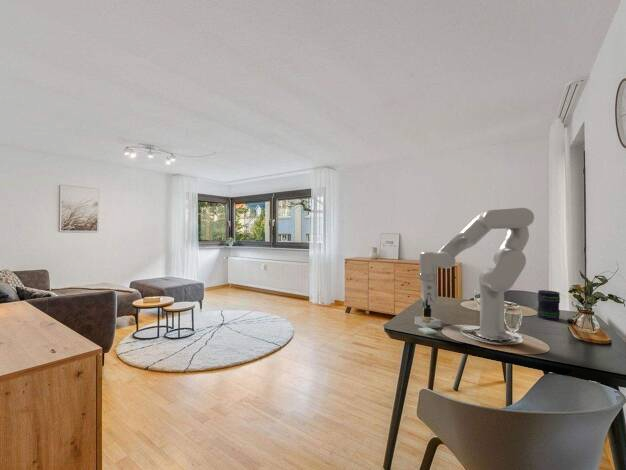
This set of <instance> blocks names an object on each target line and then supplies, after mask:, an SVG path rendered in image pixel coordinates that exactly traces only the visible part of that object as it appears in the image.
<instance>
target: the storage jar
mask: <svg viewBox="0 0 626 470" xmlns="http://www.w3.org/2000/svg"><path fill="white" fill-rule="evenodd" d="M560 295H561V293H560V292H558V291H553V290H542V289H541V290H538V291H537V302H538V304H537V305H538V307H537V318H538V319H541V320H545V321H552V322H559V321H560V312H561V311H560V303H561V302H560V301H561V298H560Z"/></svg>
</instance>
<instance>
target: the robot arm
mask: <svg viewBox="0 0 626 470" xmlns="http://www.w3.org/2000/svg"><path fill="white" fill-rule="evenodd" d="M534 220H535V215H534V212H533V211H532V210H531V209H529V208H527V207H517V208H516V207H514V208H503V209H502V208H500V209H489V210H484V211H482V212H480V213H479V214H478V215H476V216H475V217H474V218H473V219H472V220H471V221H470V222H469V223H468V224H467V226H465V227H464V228H462V230H461V231H460V232H459V233H457V234H456V235H455V236H454V237H453V238H451V239H450V240H449V241H448V242H447V243H445V244H444V246H442V248H440V249H439V251H437V252H435V251H434V252H433V251H421V252H420V253H419V272H418V273H419V274H418V277H419V279H418V280H419V281H421V284H420V285H421V286H420V287H421V288H420V289H421V291H420V297H421V300H422V302H423V301H424V302H425V308H424V317H432V304H433V303H435V302H436V301H435V300H436V299H435V288H434V282H435V281H436V282H437V268H440V269H450V268H452V267H454V265H455V263H456V257H457V256H458V255H460V253H461V252H464V251H465V250H467V249H470V248H472V247H474V246H476V245H477V244H478V243H479V241H481V240H482V239H483V238H484V237H485V236H486V235H487V234H488V233H489V232H490V231H491V230H497V229H498V230H499V229H500V230H501V229H506V234H505V237H504V239H503V240H502V242H501V244H500V245H499V247H498V249H497V250H496V252H495V253H494V255H493V258H492V260H493V262H494V265H495V267H487V268H484V269H483V270H481V272H480V274H479V278H478V281H479V283H478V284H479V292H480V293H479V295H480V296H479V297H480V298H479V299H480V300H479V330H476V331H475V335H476V336H477V337H478V336H479V337H478V338H480V337H482V338H481V339H483V338H486V339H485V340H487V339H490V340H489V341H492V340H499V341H498V342H503V341H502V340H506V341H508V340H510V338H511V337H512V334H510V333H507V329H505V295H504V294H505V292H507V291H509V290H510V289H511V288H512V287H513V286H514V284H515V283H516V282H517V280H518V278H519V276H521V274H522V272H523V270H524V269H525V267H526V264H527V258H526V255H525V254H524V253H523V251H524V249H525V247H526V245H527V243H528V241H529V238H530V234H529V233H530V232H529V226H530V225H532V224H533V223H534ZM426 301H427V302H426ZM431 301H432V302H431ZM426 303H427V304H426ZM421 311H422V315H423V306H422V310H421Z"/></svg>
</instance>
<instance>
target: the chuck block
mask: <svg viewBox="0 0 626 470" xmlns="http://www.w3.org/2000/svg"><path fill="white" fill-rule="evenodd" d="M422 317H423V315H422V316H419V315H417V316H414V324H415V325H417V326H419V327H420V328H426V327H428V328H431V329H436V328H441V327H442V323H441V319H439V318H436V317H434V316H431V317H430V323H424V322H422Z"/></svg>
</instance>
